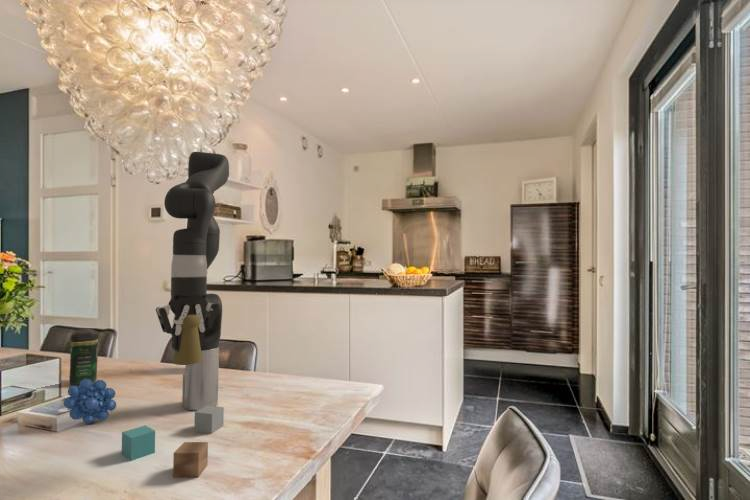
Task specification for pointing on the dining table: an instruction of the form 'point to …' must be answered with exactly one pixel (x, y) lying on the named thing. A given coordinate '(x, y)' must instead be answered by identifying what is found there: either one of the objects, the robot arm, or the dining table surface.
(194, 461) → the walnut block
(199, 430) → the slate-grey block
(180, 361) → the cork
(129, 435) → the deep teal block
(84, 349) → the coffee jar
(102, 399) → the blue knobby flower
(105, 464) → the dining table surface
